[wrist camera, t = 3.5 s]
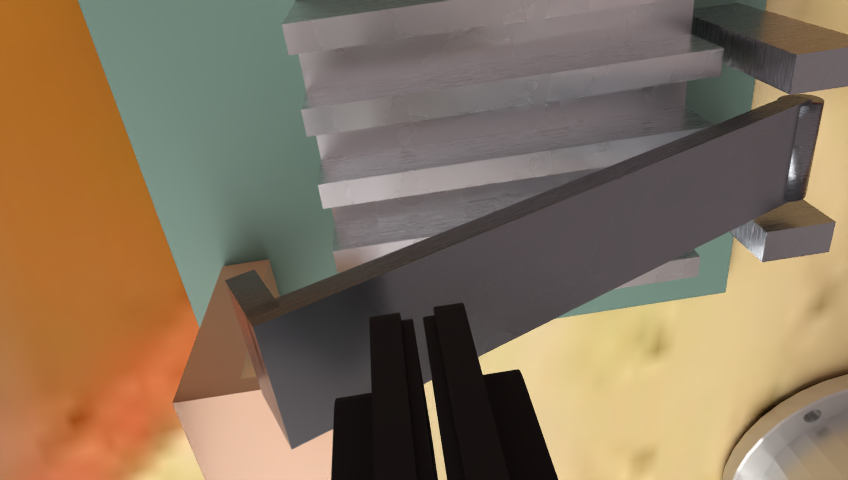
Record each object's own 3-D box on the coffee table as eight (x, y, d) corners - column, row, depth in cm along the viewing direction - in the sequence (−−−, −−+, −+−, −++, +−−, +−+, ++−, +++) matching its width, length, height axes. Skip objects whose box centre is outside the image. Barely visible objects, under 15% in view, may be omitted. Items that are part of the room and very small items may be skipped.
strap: (760, 81, 18) (833, 95, 17) (746, 174, 20) (813, 196, 18) (224, 280, 12) (257, 334, 11) (262, 394, 14) (296, 457, 12)
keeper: (364, 244, 24) (366, 373, 18) (380, 327, 26) (387, 470, 20) (222, 266, 24) (172, 403, 18) (249, 347, 26) (213, 497, 20)
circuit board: (776, -215, 19) (796, -220, 18) (713, 279, 28) (725, 292, 27) (50, -115, 19) (34, -116, 18) (220, 355, 27) (215, 370, 27)
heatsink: (745, -63, 20) (897, -46, 14) (712, 213, 25) (816, 307, 19) (295, 1, 20) (269, 44, 14) (351, 268, 25) (349, 379, 19)
